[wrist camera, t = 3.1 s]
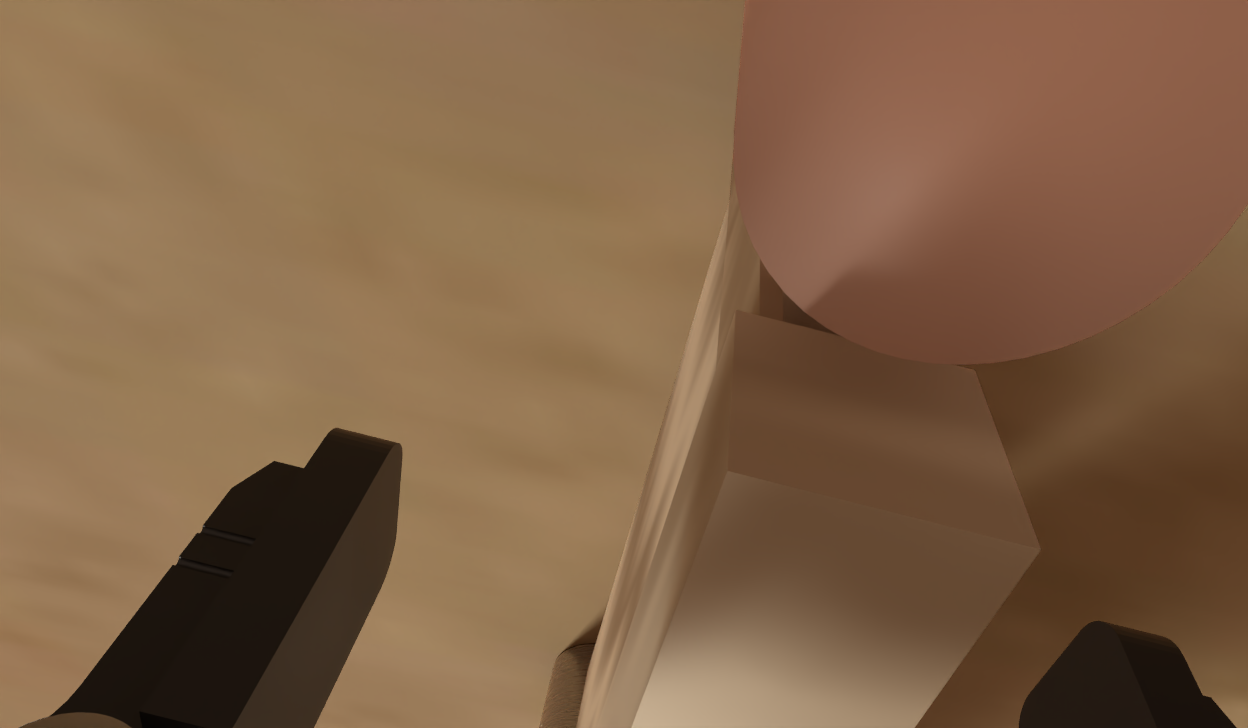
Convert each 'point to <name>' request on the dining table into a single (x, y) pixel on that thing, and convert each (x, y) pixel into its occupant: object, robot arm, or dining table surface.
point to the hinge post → (566, 688)
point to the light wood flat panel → (804, 527)
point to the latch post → (988, 163)
